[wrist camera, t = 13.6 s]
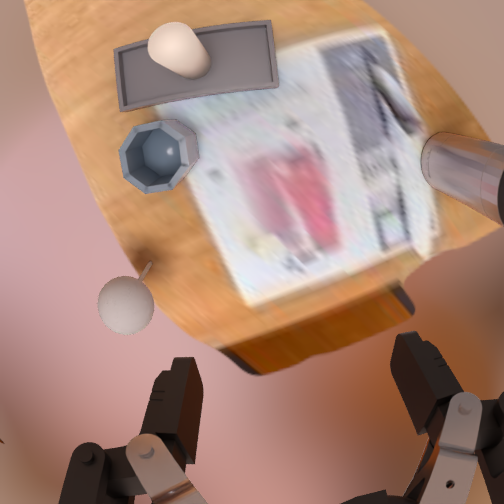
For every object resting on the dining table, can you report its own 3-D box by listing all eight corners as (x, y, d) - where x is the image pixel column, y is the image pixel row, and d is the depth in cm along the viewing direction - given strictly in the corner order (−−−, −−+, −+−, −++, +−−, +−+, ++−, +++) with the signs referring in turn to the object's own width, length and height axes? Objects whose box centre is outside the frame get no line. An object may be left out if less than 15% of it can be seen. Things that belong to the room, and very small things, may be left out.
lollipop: (122, 245, 44) (79, 300, 30) (165, 237, 44) (131, 292, 30) (137, 286, 47) (104, 348, 33) (178, 279, 46) (154, 344, 33)
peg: (209, 45, 32) (193, 17, 21) (213, 76, 33) (197, 60, 23) (175, 51, 32) (145, 28, 21) (178, 82, 34) (149, 70, 23)
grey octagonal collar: (193, 116, 37) (182, 116, 30) (201, 175, 40) (192, 186, 34) (136, 127, 37) (115, 130, 30) (145, 183, 40) (127, 197, 34)
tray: (269, 25, 31) (270, 20, 29) (277, 88, 35) (278, 86, 33) (120, 52, 32) (113, 49, 30) (127, 111, 36) (120, 111, 34)
